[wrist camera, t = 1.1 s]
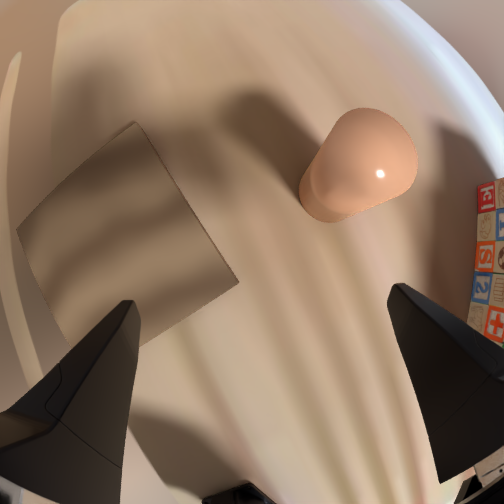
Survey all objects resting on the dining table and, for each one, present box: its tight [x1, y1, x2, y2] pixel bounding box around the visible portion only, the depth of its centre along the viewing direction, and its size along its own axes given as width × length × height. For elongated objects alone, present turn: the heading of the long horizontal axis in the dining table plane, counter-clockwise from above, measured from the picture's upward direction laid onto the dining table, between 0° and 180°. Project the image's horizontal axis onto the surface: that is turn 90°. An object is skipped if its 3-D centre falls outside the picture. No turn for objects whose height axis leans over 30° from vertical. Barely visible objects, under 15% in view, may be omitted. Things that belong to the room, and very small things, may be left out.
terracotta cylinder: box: [299, 108, 418, 223], centre depth 18 cm, size 5×5×10 cm
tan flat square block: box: [16, 122, 239, 348], centre depth 22 cm, size 16×16×2 cm
